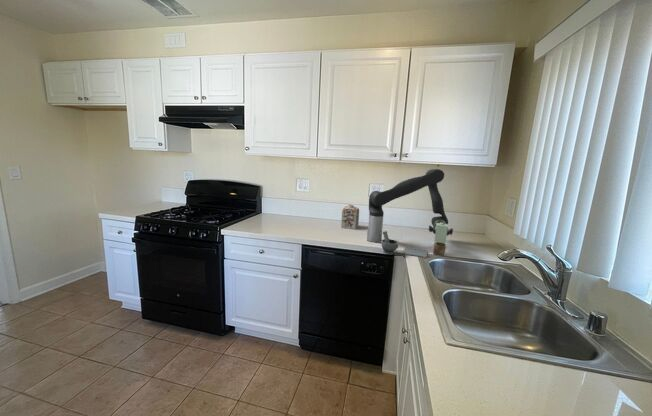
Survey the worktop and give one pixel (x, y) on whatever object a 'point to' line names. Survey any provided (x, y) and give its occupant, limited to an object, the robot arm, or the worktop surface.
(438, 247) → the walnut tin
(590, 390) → the worktop surface
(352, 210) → the decorative jar
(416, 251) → the grey square tile
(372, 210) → the robot arm
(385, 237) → the mortar and pestle
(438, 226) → the pale green block
